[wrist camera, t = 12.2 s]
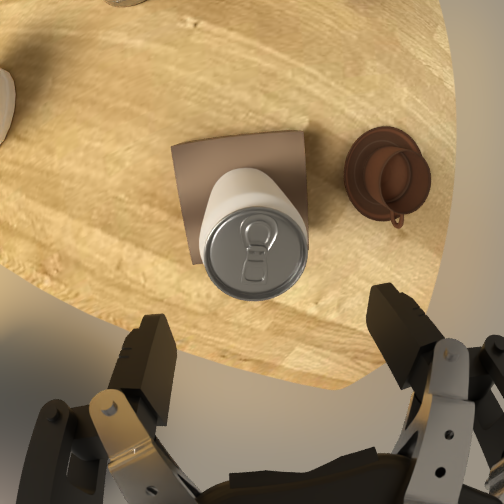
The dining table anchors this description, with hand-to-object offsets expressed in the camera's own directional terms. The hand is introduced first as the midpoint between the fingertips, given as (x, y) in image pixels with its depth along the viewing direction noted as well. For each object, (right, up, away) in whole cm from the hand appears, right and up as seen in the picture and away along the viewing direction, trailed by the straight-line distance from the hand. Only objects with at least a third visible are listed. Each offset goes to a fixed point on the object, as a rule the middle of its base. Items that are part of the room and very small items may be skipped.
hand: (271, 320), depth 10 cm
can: (-1, +7, +16) cm, 17 cm away
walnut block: (-2, +10, +21) cm, 23 cm away
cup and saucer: (+16, +13, +21) cm, 29 cm away
